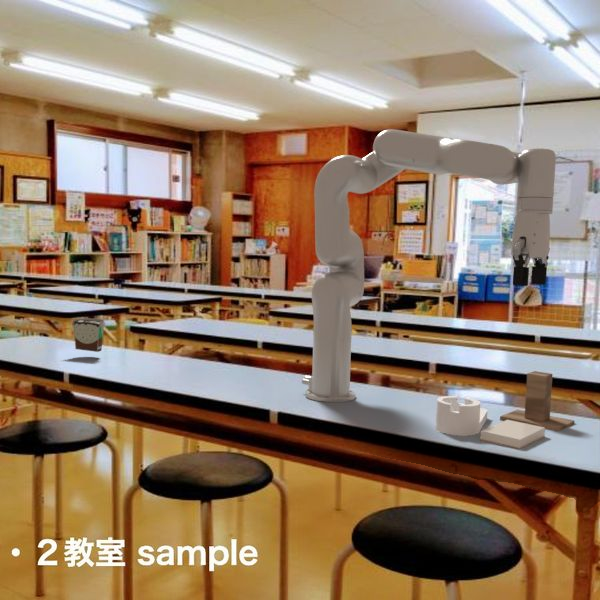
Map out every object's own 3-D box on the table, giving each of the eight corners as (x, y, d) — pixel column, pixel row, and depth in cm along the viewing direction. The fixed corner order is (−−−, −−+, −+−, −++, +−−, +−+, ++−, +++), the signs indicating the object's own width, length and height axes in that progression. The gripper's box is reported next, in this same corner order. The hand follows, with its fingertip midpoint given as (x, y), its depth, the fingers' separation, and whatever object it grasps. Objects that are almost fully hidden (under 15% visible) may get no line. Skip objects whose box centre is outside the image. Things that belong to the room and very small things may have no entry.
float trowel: (558, 434, 141) (561, 381, 140) (499, 421, 150) (502, 371, 149) (574, 426, 148) (577, 375, 147) (517, 414, 156) (520, 366, 155)
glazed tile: (506, 429, 141) (480, 440, 132) (507, 419, 141) (480, 430, 132) (544, 437, 136) (519, 450, 127) (545, 427, 136) (520, 439, 127)
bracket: (475, 441, 134) (476, 408, 134) (431, 435, 138) (433, 402, 137) (488, 417, 153) (490, 388, 152) (449, 412, 156) (451, 384, 155)
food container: (113, 349, 226) (113, 320, 226) (100, 352, 221) (101, 321, 220) (85, 346, 232) (85, 317, 231) (72, 348, 226) (72, 319, 225)
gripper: (533, 209, 157) (529, 282, 158) (500, 204, 144) (496, 285, 145) (566, 208, 152) (561, 284, 153) (535, 204, 139) (530, 287, 140)
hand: (529, 284), depth 149 cm, fingers open, 9 cm apart
